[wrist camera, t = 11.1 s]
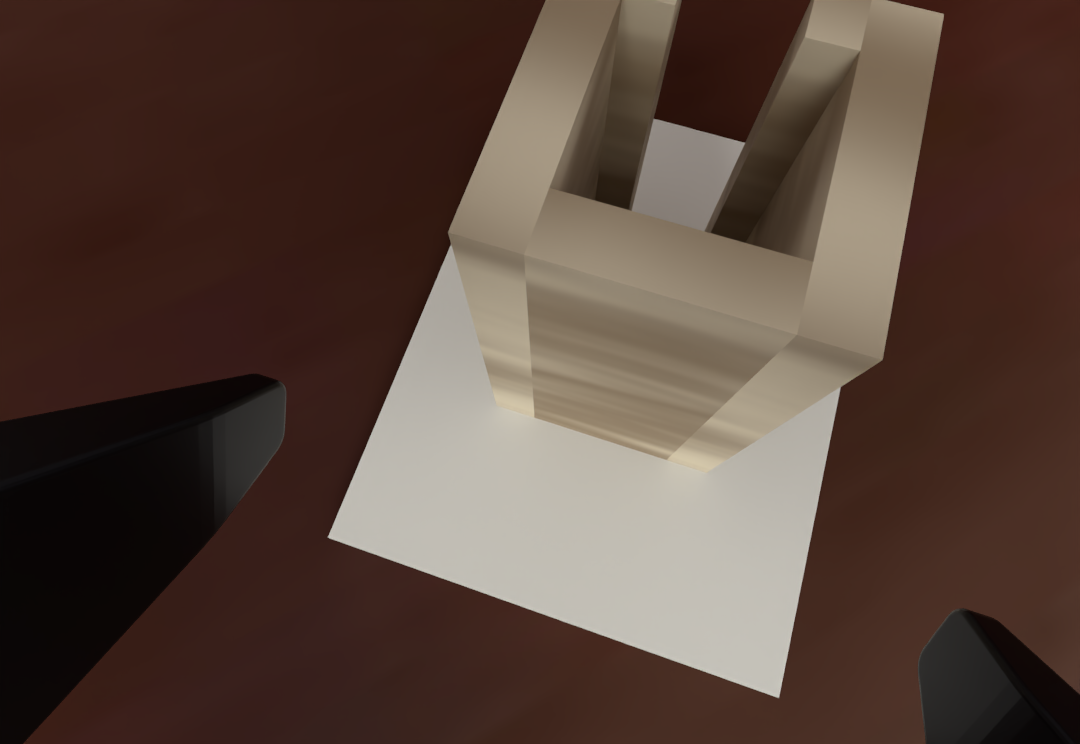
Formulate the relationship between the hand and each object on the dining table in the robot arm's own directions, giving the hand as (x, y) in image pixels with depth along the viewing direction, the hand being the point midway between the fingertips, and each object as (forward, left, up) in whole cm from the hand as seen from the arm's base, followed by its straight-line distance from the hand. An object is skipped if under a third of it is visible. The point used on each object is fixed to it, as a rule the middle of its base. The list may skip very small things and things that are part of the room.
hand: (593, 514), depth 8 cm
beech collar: (+6, +3, -12) cm, 14 cm away
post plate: (+6, +3, -13) cm, 15 cm away
